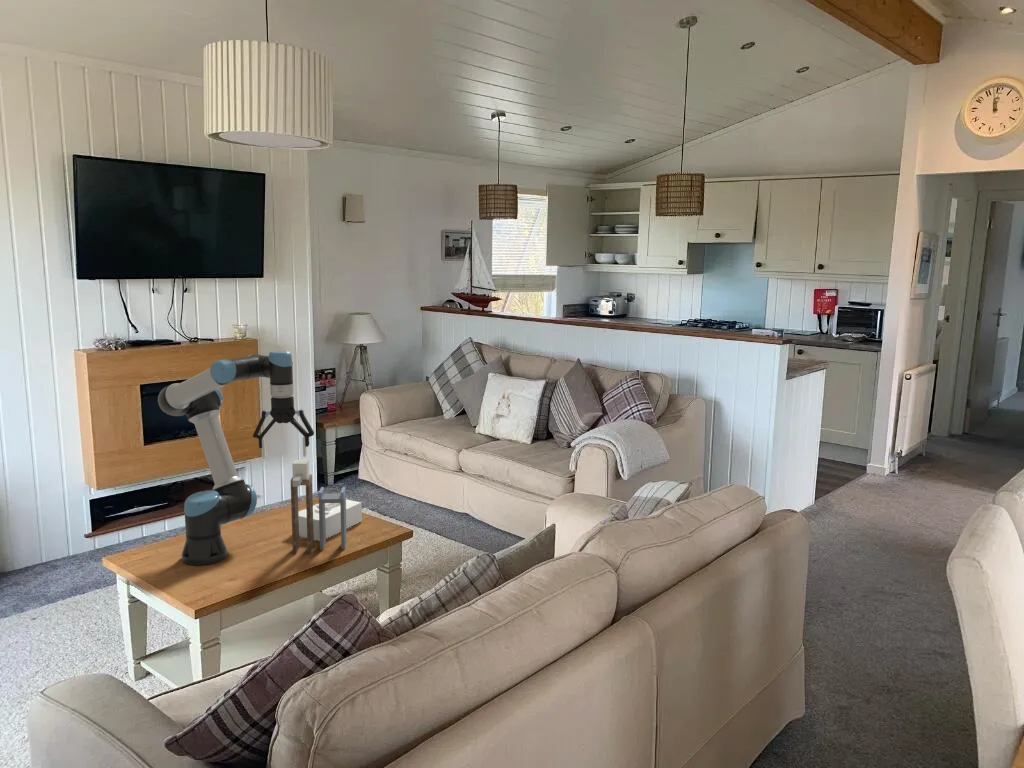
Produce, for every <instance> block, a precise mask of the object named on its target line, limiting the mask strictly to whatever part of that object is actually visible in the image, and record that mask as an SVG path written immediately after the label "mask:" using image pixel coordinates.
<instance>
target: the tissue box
mask: <svg viewBox="0 0 1024 768" xmlns="http://www.w3.org/2000/svg"><path fill="white" fill-rule="evenodd" d="M348 498H349V497H347V496H346V530H348V529H350V528H352V527H351V526H353V525H355V524H357V523H359V522H361V521H362V522H363V515H362V513H363V510H362V508H363V507H362V506H363V504H362V502H361V501H355V500H351V499H348ZM298 514H299V536H300V537H301V538H304V537H305V538H304V539H307V513H306V508H304V509H302V510H298ZM362 522H361V523H362ZM359 524H360V523H359ZM357 525H358V524H357ZM325 526H326V538H327V539H329V538H331V536H332V537H334V536H336V535H337V533H338V534H340V533H341V509H340V503H325ZM355 526H356V525H355ZM349 527H350V528H349ZM353 527H354V526H353ZM347 528H348V529H347ZM313 531H314V541H317V540H318V542H320V529H319V502H318V503H315V504H313ZM339 532H340V533H339ZM335 534H336V535H335ZM333 535H334V536H333ZM300 537H299V538H300ZM328 537H329V538H328Z"/></svg>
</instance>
